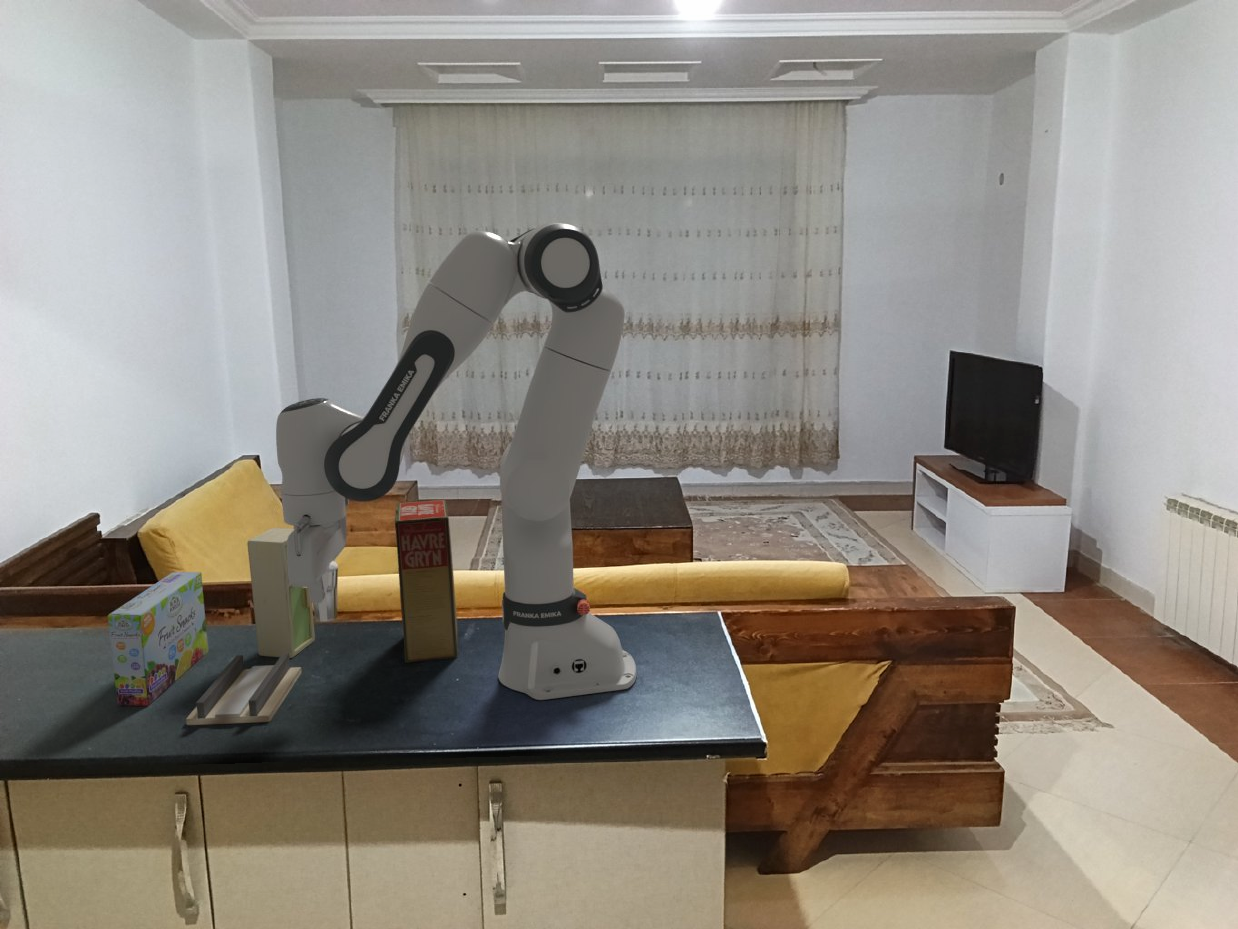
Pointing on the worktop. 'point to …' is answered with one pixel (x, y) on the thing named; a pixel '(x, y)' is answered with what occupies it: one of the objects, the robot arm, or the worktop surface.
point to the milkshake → (328, 595)
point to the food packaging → (426, 580)
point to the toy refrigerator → (278, 598)
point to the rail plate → (245, 693)
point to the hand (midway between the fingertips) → (322, 595)
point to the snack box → (157, 637)
